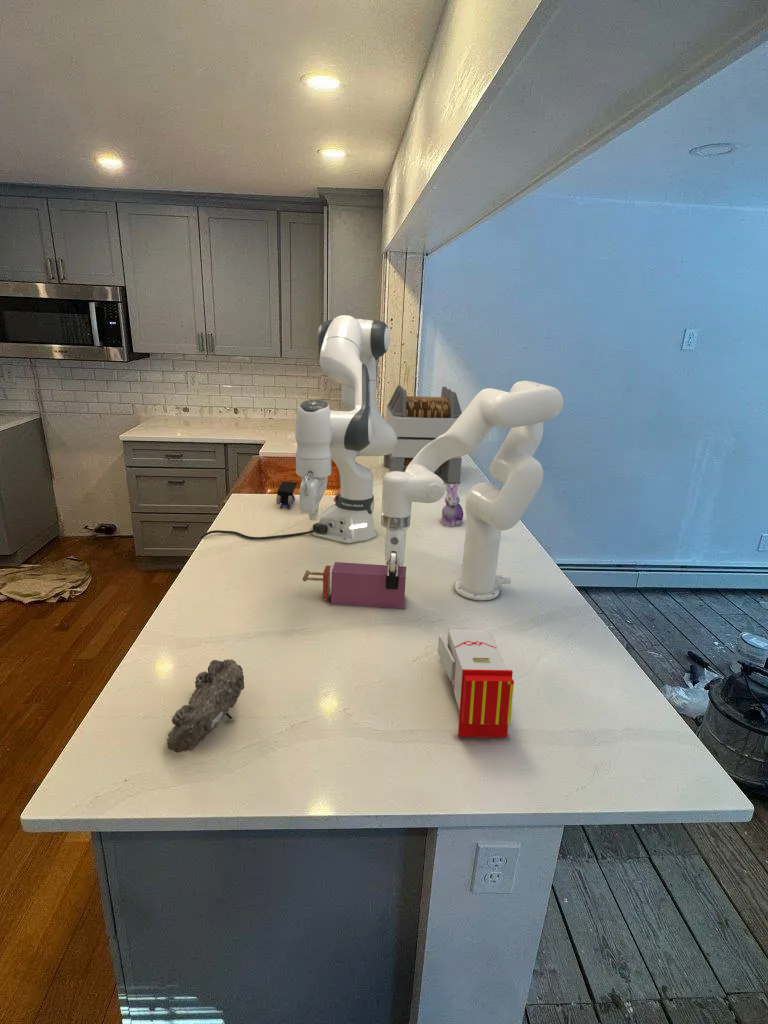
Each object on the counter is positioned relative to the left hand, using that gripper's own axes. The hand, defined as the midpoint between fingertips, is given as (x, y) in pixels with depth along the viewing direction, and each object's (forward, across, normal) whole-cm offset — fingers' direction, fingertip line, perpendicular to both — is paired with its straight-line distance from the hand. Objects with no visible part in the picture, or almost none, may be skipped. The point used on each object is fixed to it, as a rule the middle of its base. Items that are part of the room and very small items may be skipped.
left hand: (313, 518), depth 146 cm
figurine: (+23, +64, -41) cm, 79 cm away
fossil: (+23, -49, +11) cm, 55 cm away
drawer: (+22, 0, -9) cm, 24 cm away
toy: (+23, -36, -39) cm, 58 cm away
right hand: (+17, 0, -21) cm, 27 cm away
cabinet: (+23, 0, -15) cm, 27 cm away
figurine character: (+23, +73, +23) cm, 80 cm away
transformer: (+23, +130, -29) cm, 135 cm away
